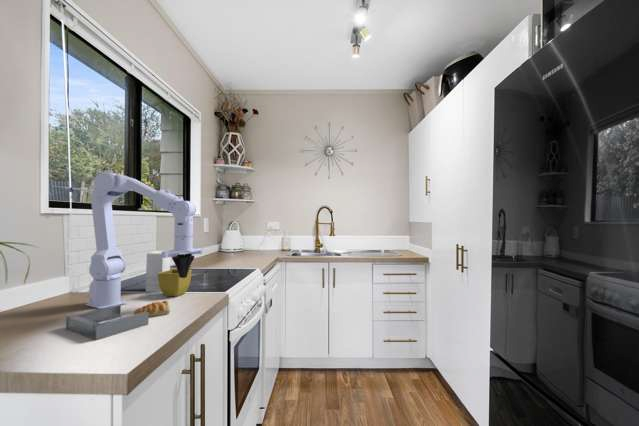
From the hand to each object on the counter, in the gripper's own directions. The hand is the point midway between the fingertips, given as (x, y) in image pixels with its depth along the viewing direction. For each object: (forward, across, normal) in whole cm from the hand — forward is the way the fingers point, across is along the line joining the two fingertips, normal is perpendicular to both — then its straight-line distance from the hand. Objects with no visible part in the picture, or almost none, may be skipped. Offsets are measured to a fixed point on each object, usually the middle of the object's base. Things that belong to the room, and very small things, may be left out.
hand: (182, 277), depth 102 cm
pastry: (+10, -10, 0) cm, 14 cm away
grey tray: (+9, -22, 0) cm, 24 cm away
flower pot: (+10, +8, +15) cm, 20 cm away
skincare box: (+10, +10, +28) cm, 31 cm away
